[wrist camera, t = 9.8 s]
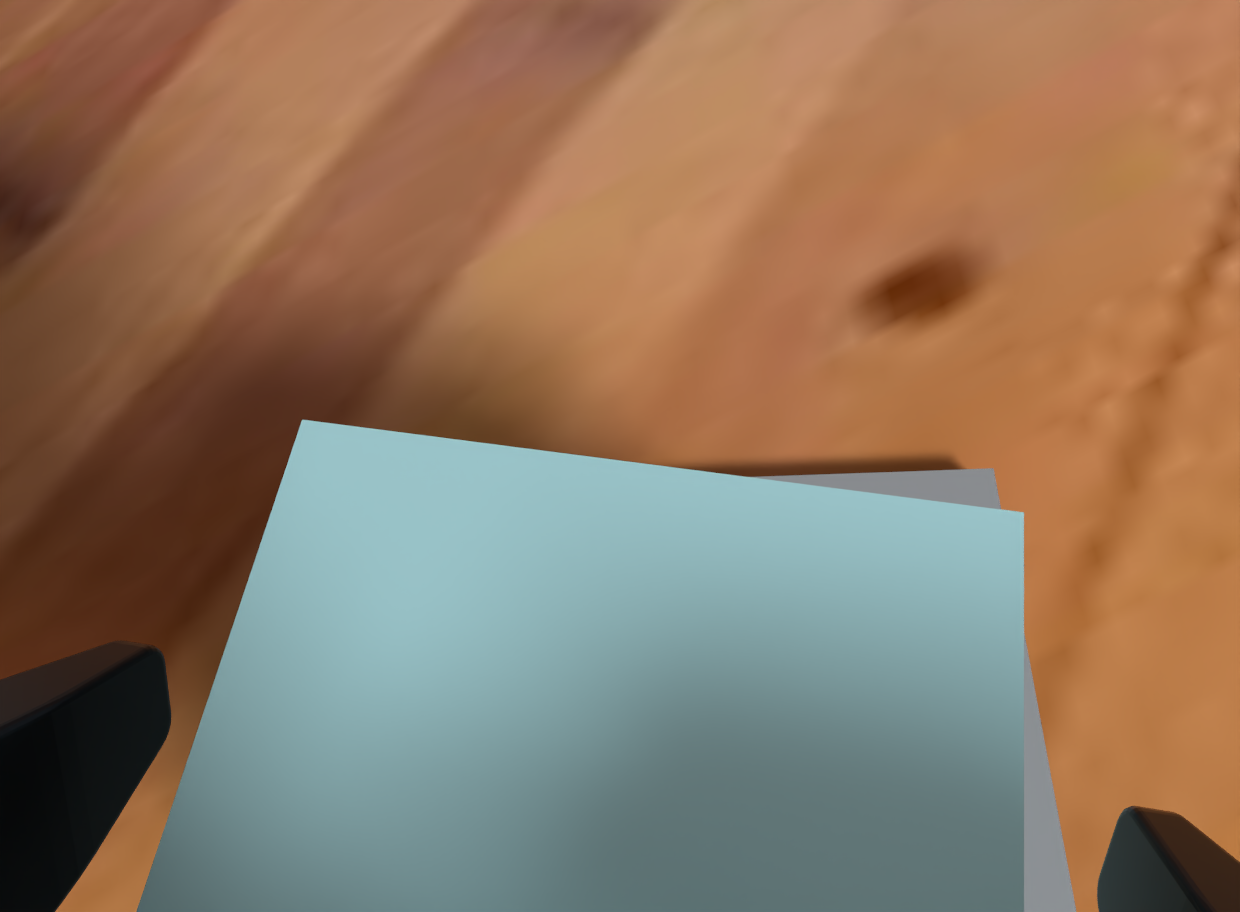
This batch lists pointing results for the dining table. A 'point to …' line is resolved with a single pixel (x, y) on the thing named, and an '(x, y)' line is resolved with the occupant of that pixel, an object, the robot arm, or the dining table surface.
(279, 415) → the dining table surface
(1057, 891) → the post board
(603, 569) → the pale blue cube block
